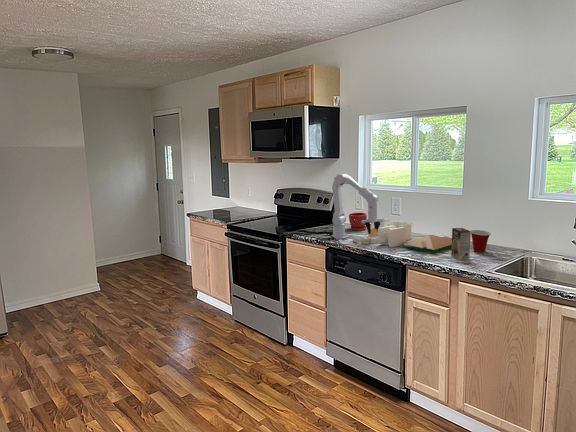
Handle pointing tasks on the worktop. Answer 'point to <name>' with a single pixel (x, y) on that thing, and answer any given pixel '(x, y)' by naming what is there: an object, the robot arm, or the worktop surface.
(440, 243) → the house
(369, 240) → the frame
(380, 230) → the cable organizer
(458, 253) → the coffee box
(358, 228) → the plant pot
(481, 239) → the plastic cup
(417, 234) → the worktop surface
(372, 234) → the orange block
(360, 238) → the clip
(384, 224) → the white slotted rack
